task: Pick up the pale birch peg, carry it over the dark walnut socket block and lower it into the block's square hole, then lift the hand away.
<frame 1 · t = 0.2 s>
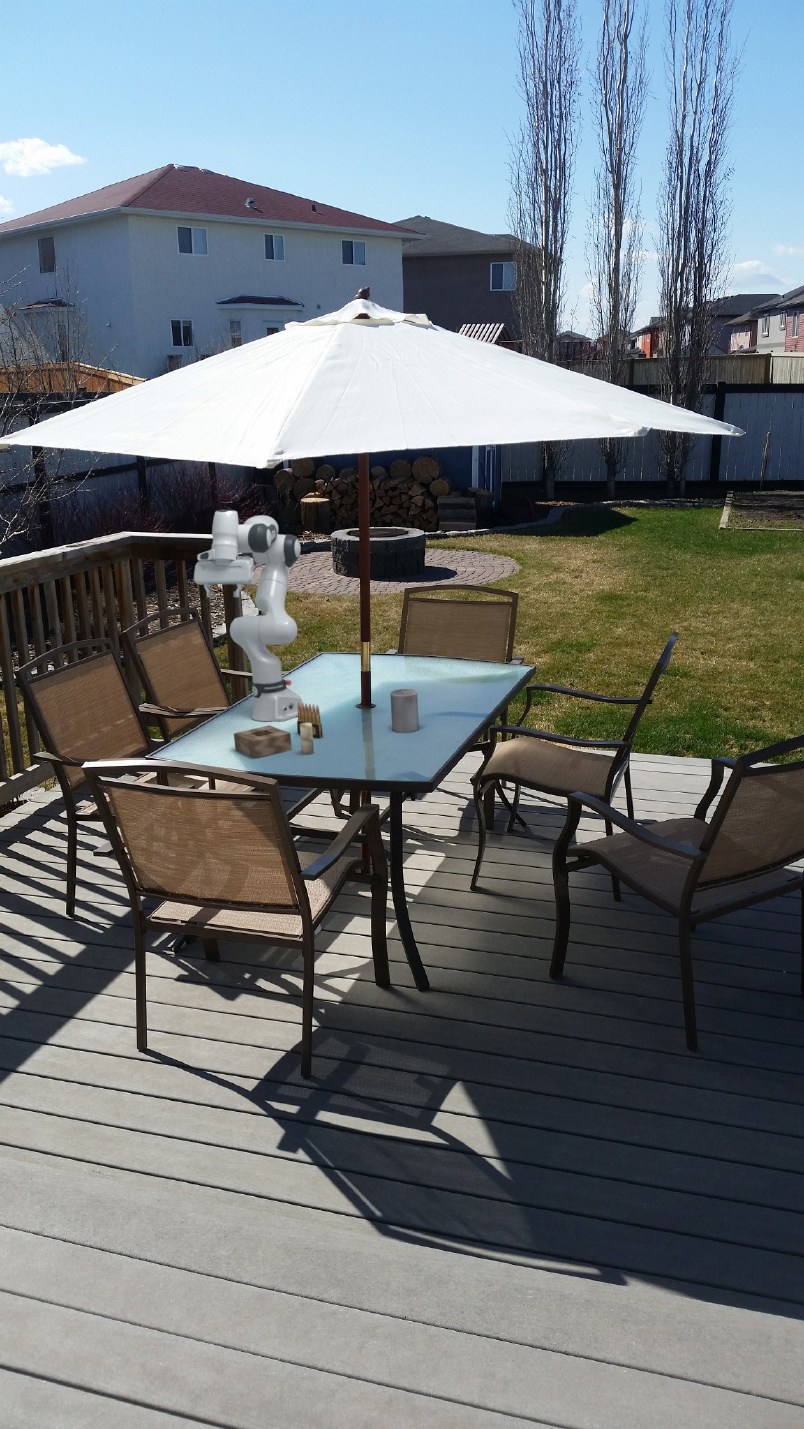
hand: (223, 597, 359), 52 cm above the table, tool tilted 20°, fingers open, 8 cm apart
socket block: (263, 750, 364), on the table
peg: (307, 752, 359), on the table
ammunition clip: (310, 736, 379), on the table
pillar candle: (405, 729, 382), on the table
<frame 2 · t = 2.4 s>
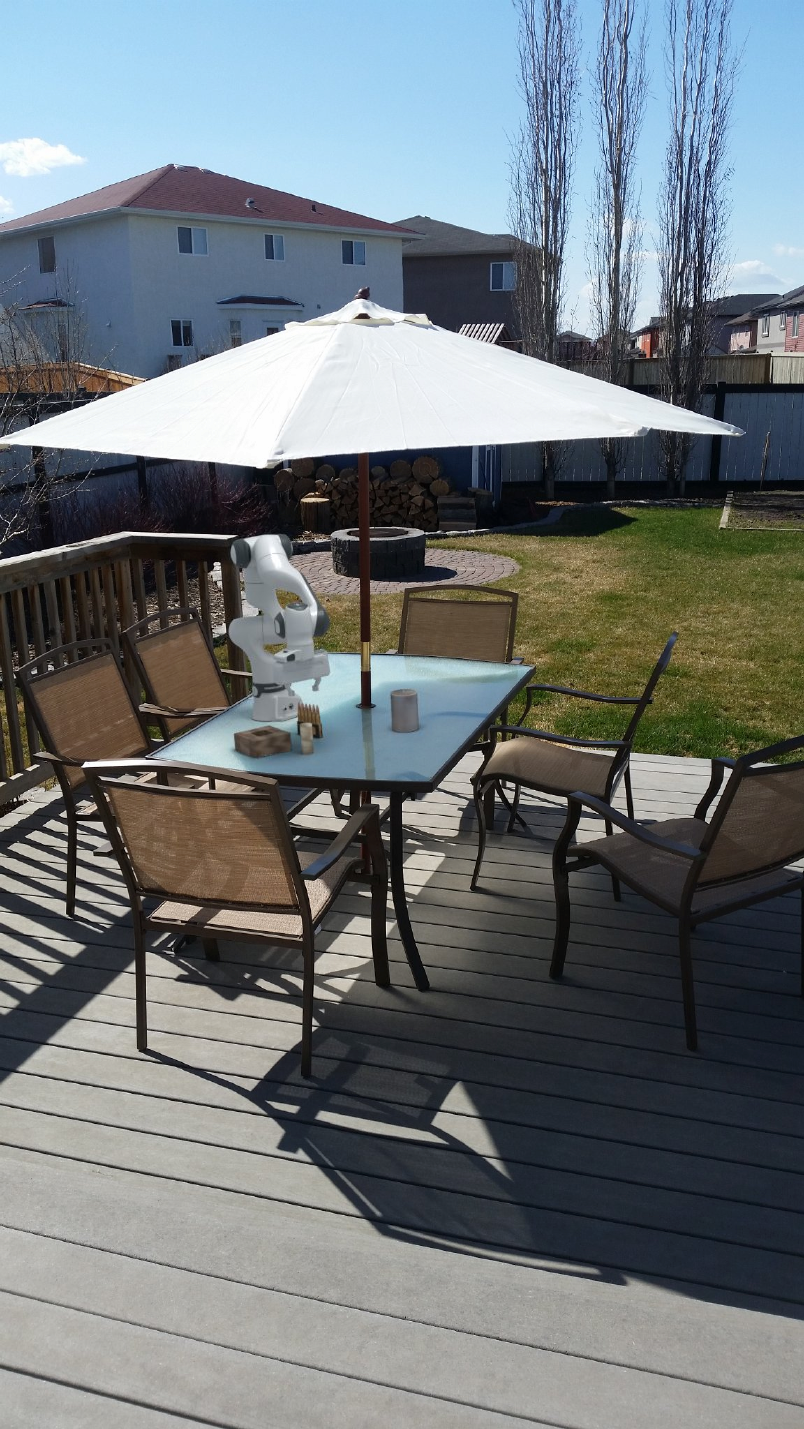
hand: (303, 693, 354), 21 cm above the table, tool pointing down, fingers open, 8 cm apart
nothing on the table moved.
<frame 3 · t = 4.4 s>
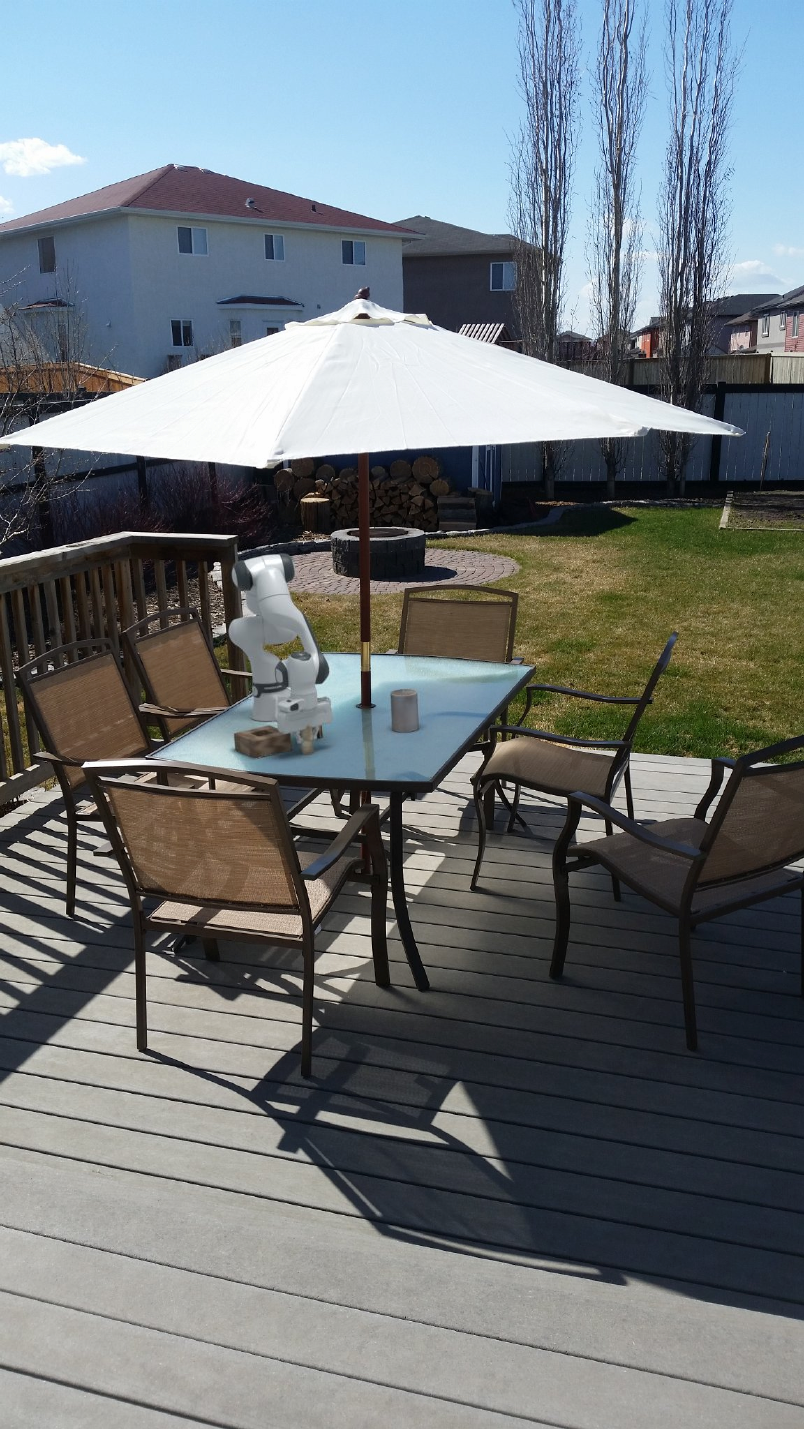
hand: (306, 741, 358), 4 cm above the table, tool pointing down, fingers closed on peg, 4 cm apart
peg: (307, 752, 359), on the table, touching gripper
everything else where it was.
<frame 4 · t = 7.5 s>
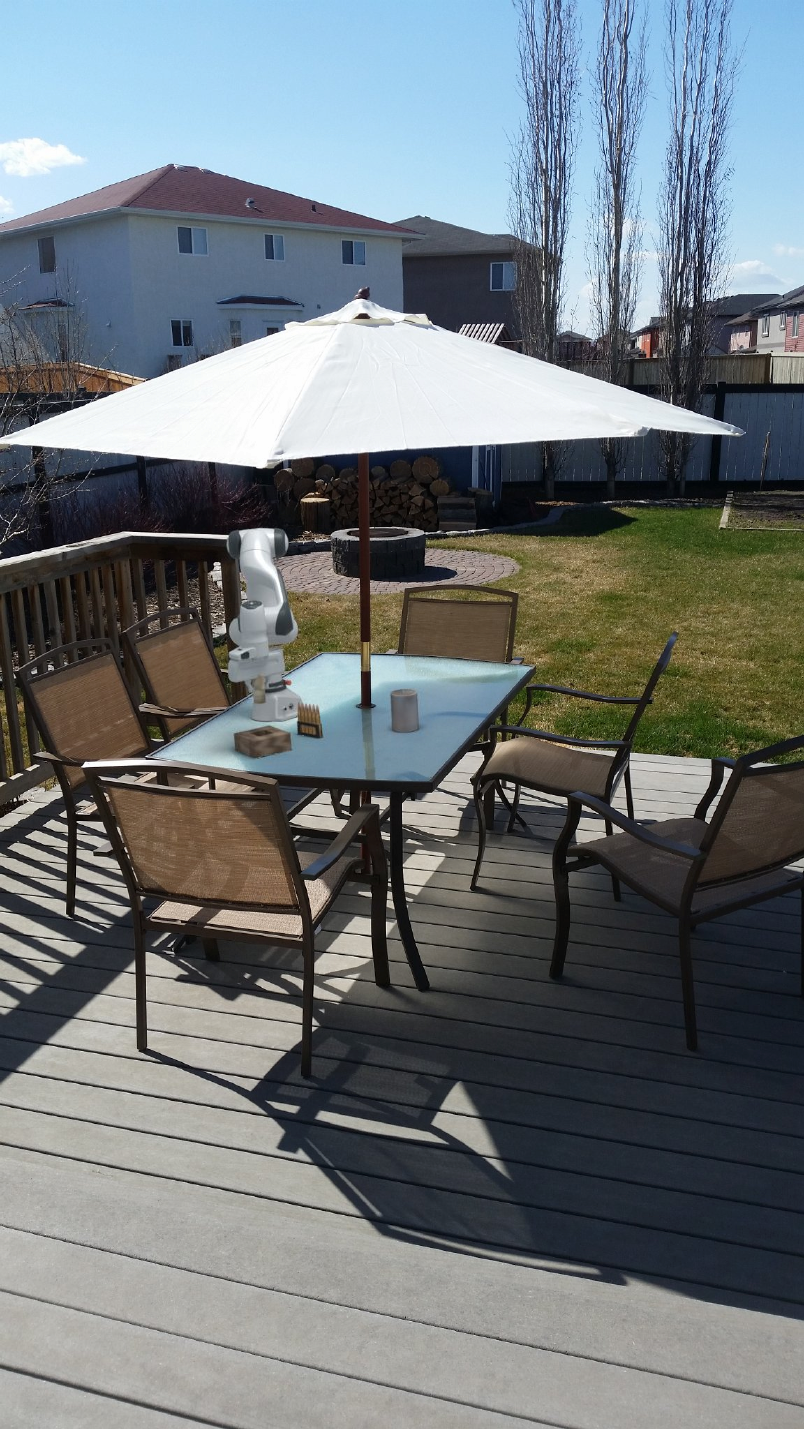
hand: (258, 690, 359), 21 cm above the table, tool pointing down, fingers closed on peg, 4 cm apart
peg: (259, 702, 360), point 17 cm above the table, touching gripper
everything else where it was.
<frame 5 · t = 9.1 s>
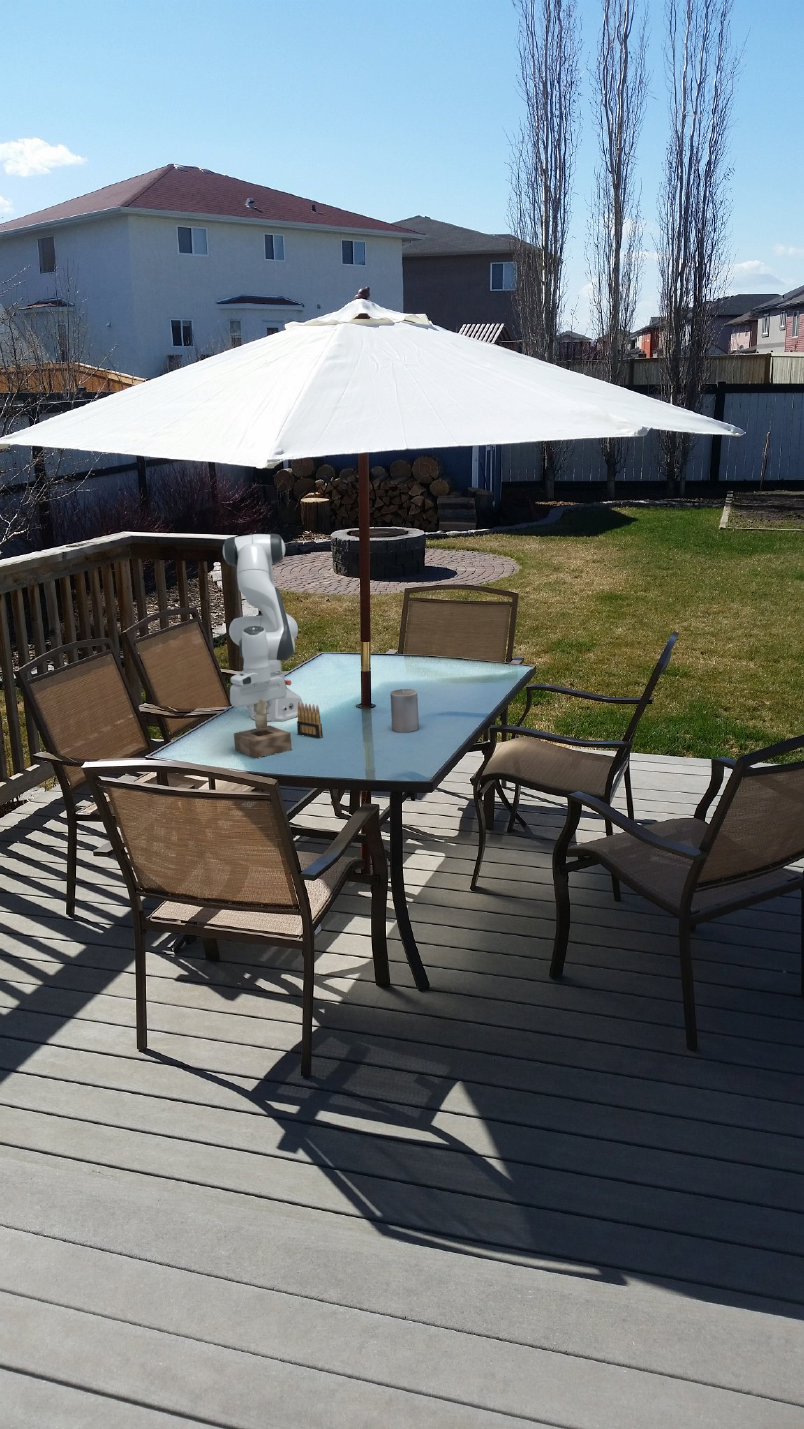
hand: (260, 715, 361), 12 cm above the table, tool pointing down, fingers closed on peg, 4 cm apart
peg: (261, 726, 362), point 8 cm above the table, touching gripper
everything else where it was.
when the fingers open (7 cm above the table, at t = 10.5 s): peg drops 3 cm, resting in socket block.
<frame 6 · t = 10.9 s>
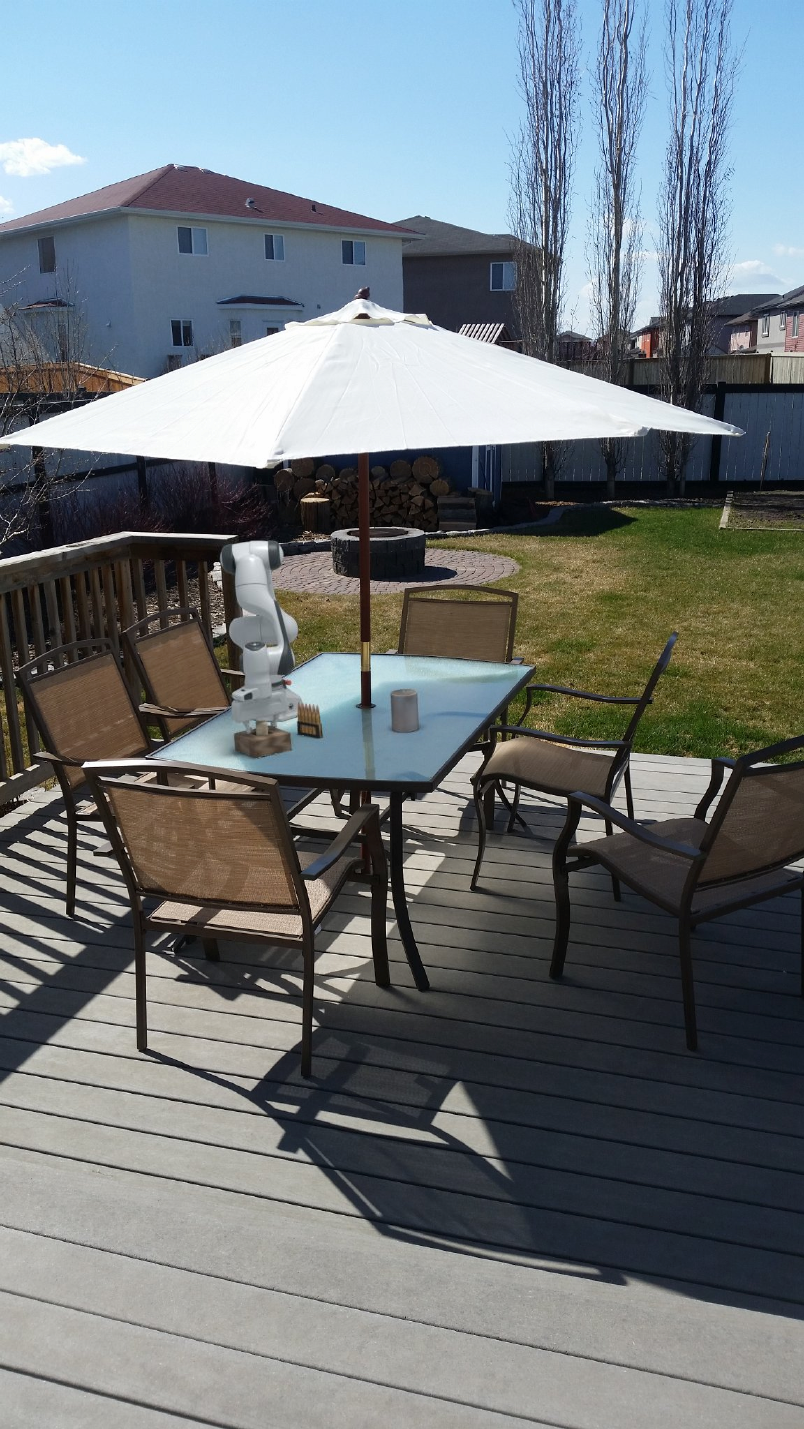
hand: (261, 730, 363), 7 cm above the table, tool pointing down, fingers open, 8 cm apart
peg: (263, 750, 364), resting in socket block
everything else where it was.
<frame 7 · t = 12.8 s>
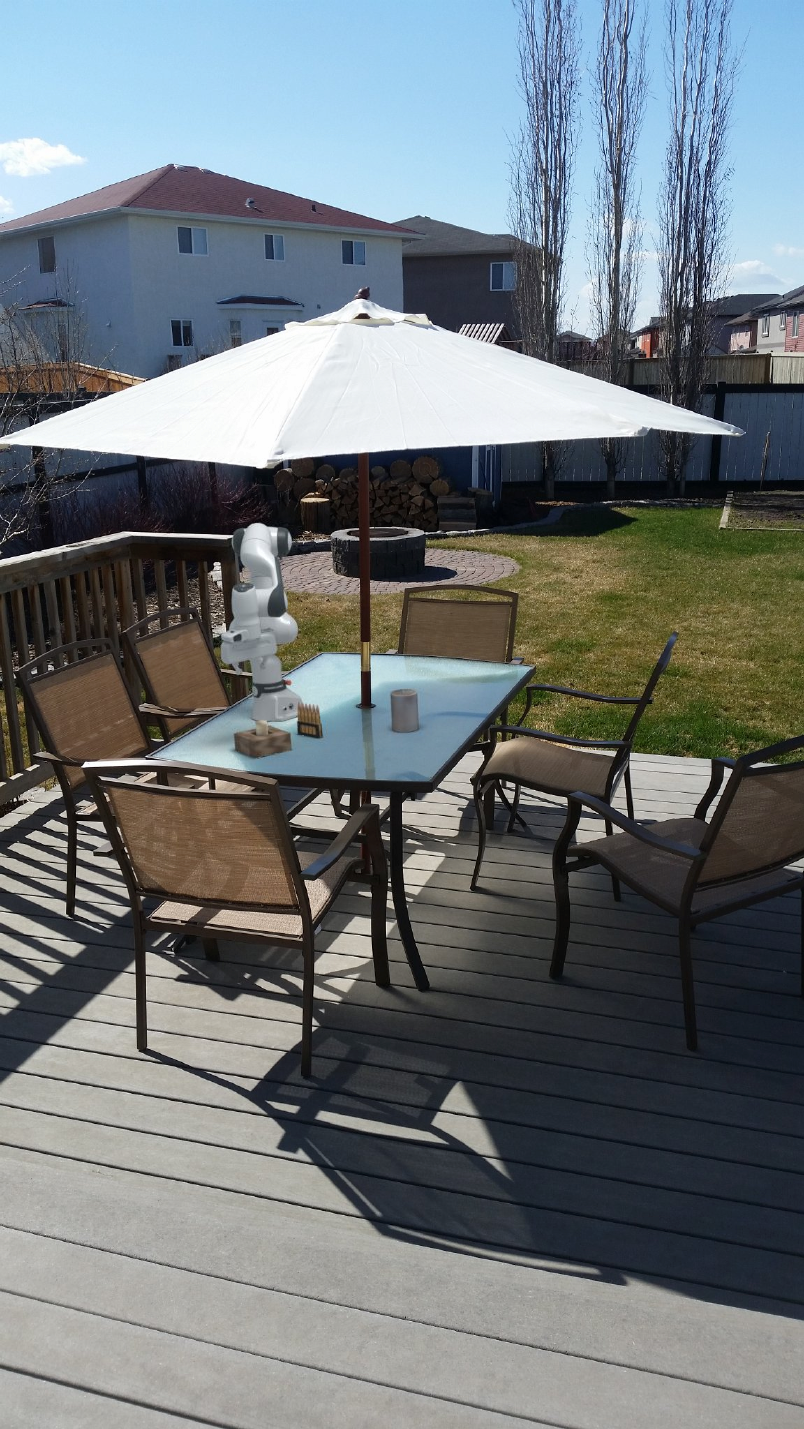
hand: (251, 671, 365), 26 cm above the table, tool pointing down, fingers open, 8 cm apart
nothing on the table moved.
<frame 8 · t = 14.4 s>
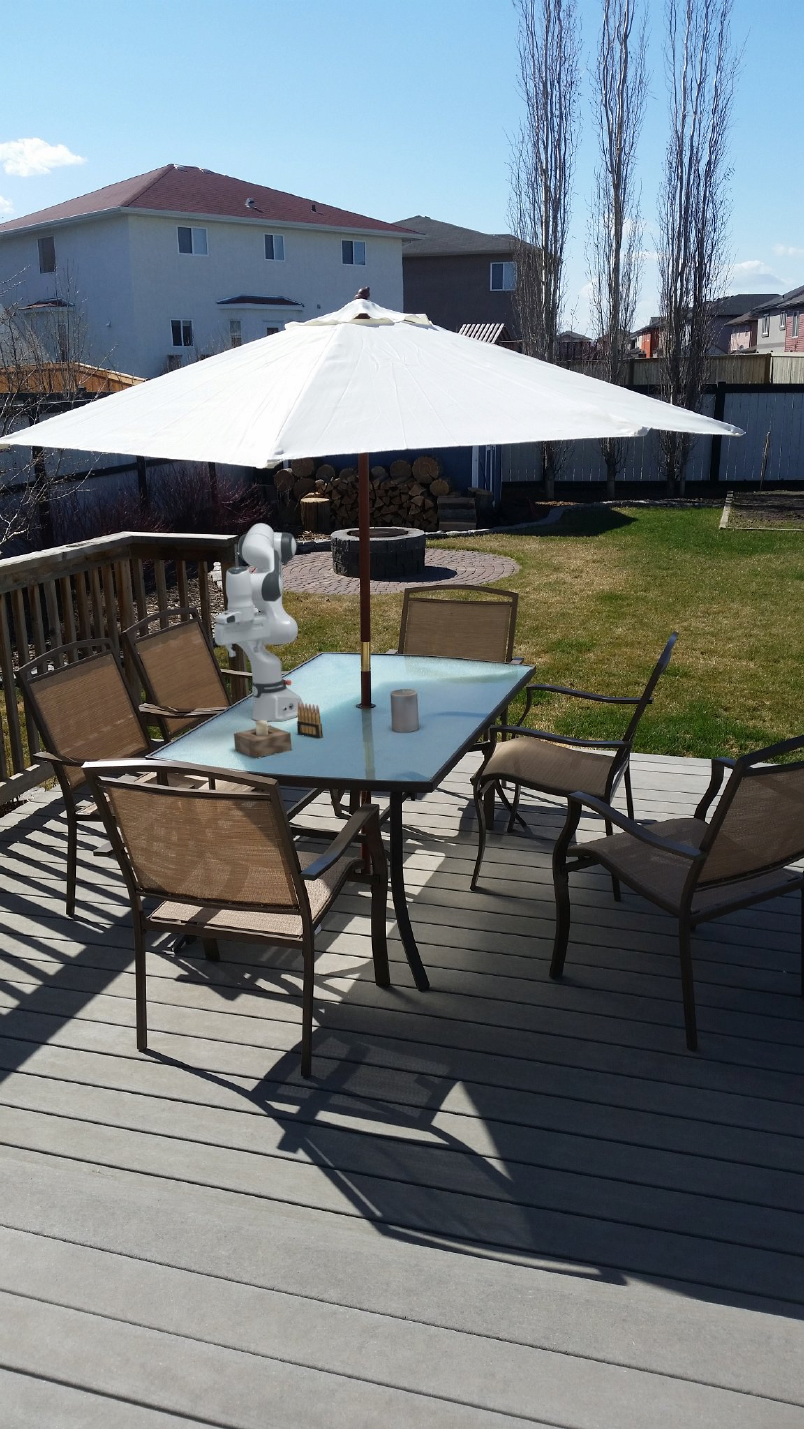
hand: (244, 654, 368), 31 cm above the table, tool pointing down, fingers open, 8 cm apart
nothing on the table moved.
at the end: peg 0.0 cm off-centre on the socket block, point 0.0 cm above the socket block's base; peg tilted 0°; the gripper is holding nothing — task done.
